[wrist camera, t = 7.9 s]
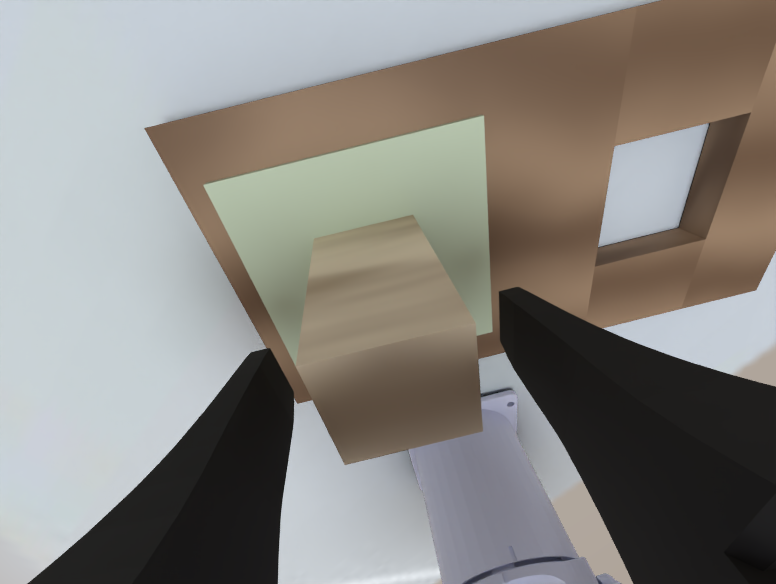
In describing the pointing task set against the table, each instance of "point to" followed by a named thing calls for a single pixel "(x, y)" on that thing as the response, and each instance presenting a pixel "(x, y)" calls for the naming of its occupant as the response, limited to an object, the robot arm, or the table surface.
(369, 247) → the maple block
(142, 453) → the table surface
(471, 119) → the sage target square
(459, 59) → the walnut pocket board
